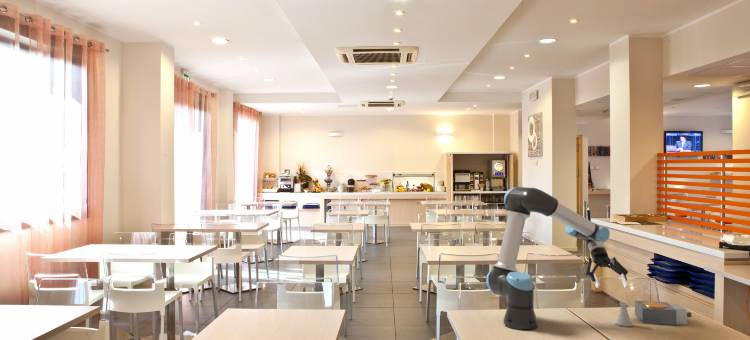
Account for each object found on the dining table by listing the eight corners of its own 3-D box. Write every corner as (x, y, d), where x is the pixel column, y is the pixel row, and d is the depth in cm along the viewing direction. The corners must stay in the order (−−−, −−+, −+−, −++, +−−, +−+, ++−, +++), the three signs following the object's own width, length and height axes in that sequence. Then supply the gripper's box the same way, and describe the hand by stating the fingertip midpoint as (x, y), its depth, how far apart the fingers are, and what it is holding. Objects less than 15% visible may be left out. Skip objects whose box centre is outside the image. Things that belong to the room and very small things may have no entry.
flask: (634, 327, 221) (634, 305, 221) (617, 326, 222) (617, 304, 222) (629, 323, 228) (629, 301, 228) (613, 322, 229) (612, 300, 229)
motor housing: (642, 323, 227) (642, 307, 227) (635, 314, 241) (634, 299, 241) (696, 326, 222) (696, 310, 222) (685, 317, 235) (685, 302, 235)
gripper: (619, 255, 254) (635, 290, 238) (571, 255, 254) (584, 291, 239) (624, 246, 248) (641, 282, 233) (575, 246, 248) (588, 282, 233)
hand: (612, 286), depth 236 cm, fingers open, 13 cm apart
